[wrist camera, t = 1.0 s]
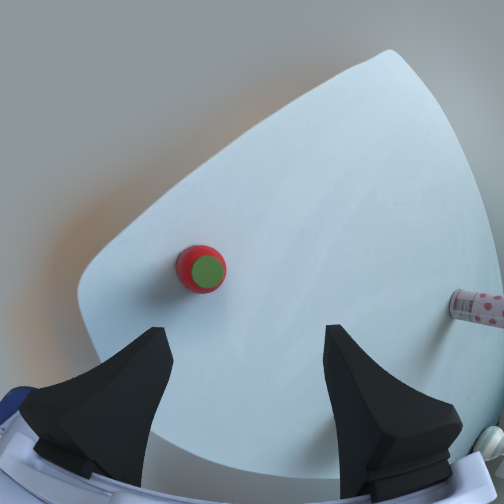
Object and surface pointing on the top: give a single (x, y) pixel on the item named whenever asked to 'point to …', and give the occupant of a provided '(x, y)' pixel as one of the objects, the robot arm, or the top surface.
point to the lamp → (491, 446)
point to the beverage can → (478, 308)
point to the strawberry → (201, 269)
